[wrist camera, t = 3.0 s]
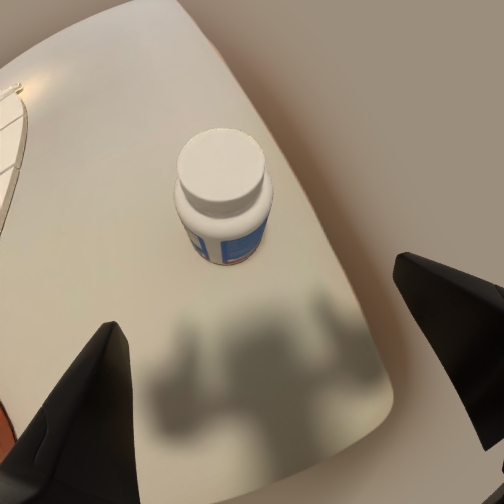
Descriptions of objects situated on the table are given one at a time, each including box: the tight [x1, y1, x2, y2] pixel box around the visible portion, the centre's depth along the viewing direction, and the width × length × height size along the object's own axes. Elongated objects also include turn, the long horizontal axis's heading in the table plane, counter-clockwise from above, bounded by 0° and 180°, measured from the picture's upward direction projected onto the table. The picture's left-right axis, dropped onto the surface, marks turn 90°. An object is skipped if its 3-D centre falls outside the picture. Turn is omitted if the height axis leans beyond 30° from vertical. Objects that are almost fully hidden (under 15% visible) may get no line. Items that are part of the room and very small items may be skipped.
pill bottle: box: [174, 128, 273, 265], centre depth 17 cm, size 6×5×10 cm
